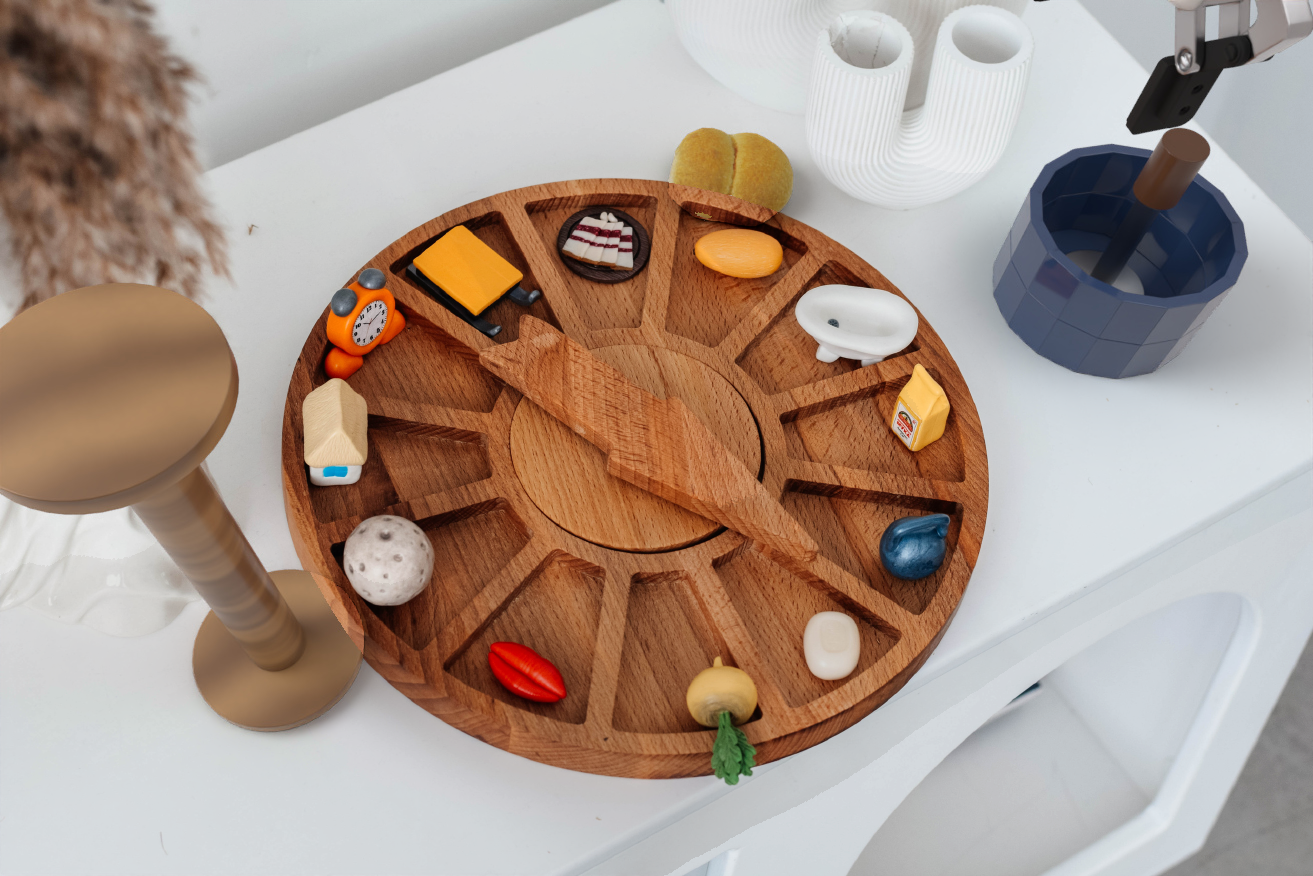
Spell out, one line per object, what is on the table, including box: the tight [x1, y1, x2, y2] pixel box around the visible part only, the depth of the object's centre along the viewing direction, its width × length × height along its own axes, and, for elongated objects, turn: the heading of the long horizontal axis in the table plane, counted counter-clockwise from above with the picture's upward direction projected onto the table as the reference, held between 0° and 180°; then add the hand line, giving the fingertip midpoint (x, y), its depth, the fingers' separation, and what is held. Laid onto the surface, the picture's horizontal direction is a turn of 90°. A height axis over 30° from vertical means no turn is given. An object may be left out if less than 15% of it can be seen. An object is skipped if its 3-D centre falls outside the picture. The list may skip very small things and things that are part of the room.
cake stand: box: [0, 282, 364, 733], centre depth 48 cm, size 9×9×26 cm
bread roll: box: [667, 127, 794, 219], centre depth 77 cm, size 8×9×4 cm
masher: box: [1066, 127, 1211, 295], centre depth 69 cm, size 6×6×14 cm
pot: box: [992, 143, 1249, 380], centre depth 72 cm, size 14×14×8 cm
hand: (1103, 57), depth 53 cm, fingers open, 9 cm apart
